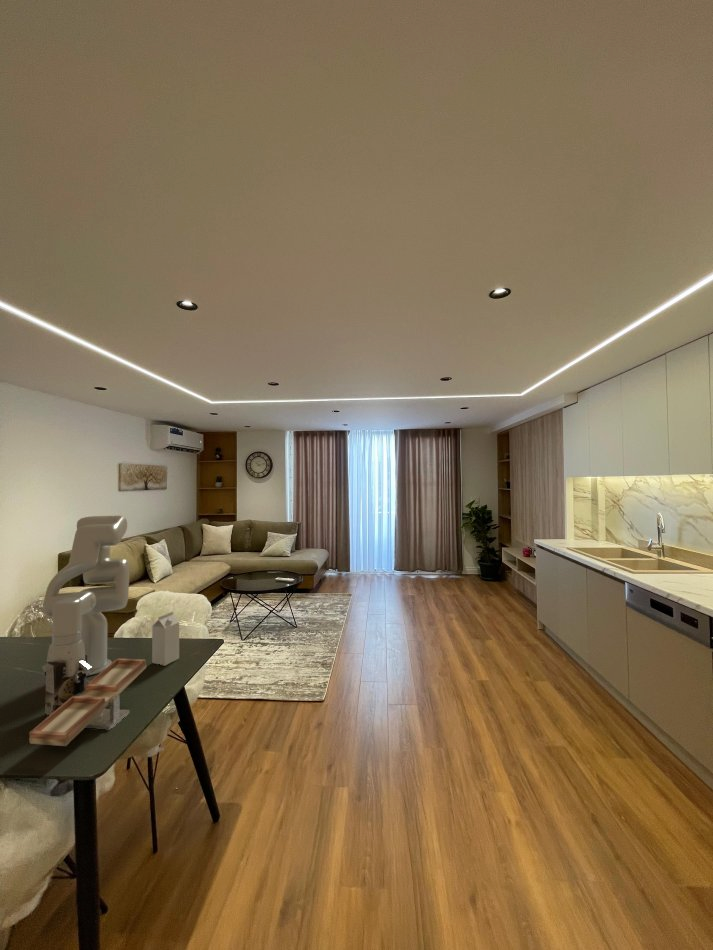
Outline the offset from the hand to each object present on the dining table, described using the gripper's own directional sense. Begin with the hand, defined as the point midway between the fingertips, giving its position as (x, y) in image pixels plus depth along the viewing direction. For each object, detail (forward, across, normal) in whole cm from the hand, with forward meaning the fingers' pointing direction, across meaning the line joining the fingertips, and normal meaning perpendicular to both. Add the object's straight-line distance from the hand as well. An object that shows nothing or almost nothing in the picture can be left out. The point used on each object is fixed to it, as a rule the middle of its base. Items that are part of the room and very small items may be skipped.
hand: (66, 692), depth 120 cm
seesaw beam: (-1, +14, -4) cm, 15 cm away
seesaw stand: (+5, +14, -4) cm, 16 cm away
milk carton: (+6, +11, +35) cm, 37 cm away
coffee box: (+5, 0, 0) cm, 5 cm away
